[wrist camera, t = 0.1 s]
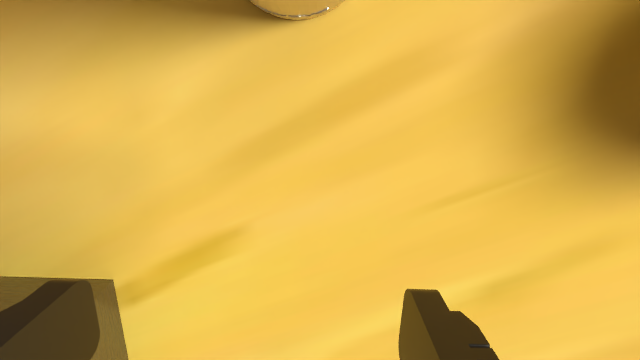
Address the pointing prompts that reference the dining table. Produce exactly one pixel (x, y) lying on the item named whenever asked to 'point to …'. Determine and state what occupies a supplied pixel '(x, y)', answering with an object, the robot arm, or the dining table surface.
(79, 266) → the dining table surface
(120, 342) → the steel riser
